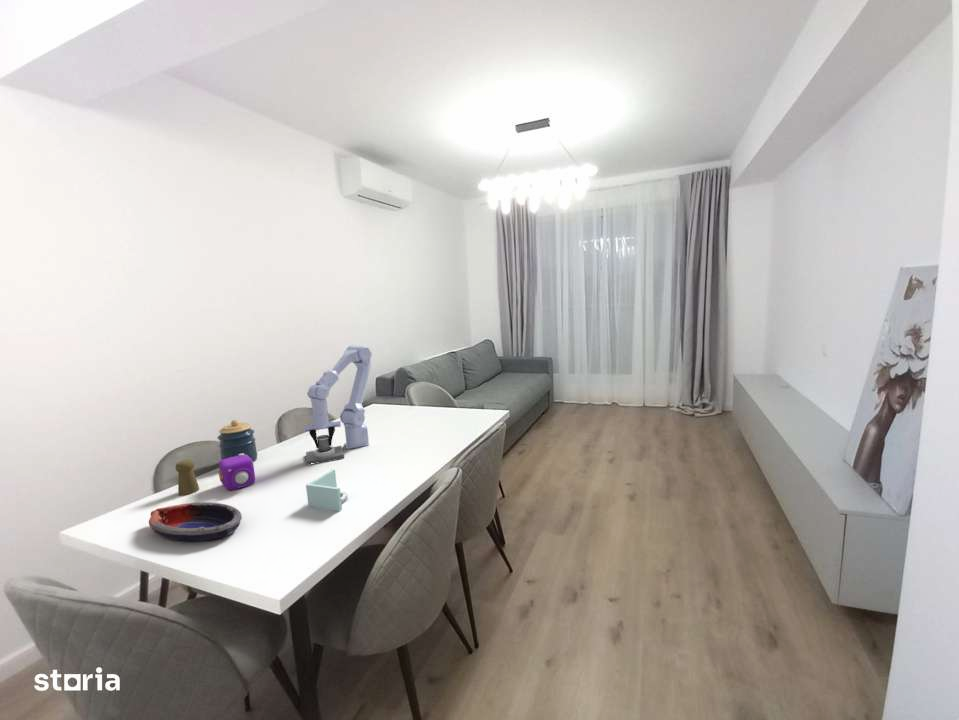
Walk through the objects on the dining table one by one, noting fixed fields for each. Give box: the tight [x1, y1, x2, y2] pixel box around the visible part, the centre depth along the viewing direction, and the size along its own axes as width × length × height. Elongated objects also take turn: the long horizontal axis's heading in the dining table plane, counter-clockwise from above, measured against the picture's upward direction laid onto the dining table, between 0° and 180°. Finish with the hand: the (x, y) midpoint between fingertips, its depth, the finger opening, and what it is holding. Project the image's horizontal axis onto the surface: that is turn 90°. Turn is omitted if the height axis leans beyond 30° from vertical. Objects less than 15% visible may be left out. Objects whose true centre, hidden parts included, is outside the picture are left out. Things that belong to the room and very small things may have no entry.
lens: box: [317, 434, 330, 452], centre depth 168 cm, size 4×4×6 cm
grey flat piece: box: [305, 445, 345, 465], centre depth 169 cm, size 14×12×3 cm
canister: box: [217, 419, 258, 463], centre depth 167 cm, size 13×13×18 cm
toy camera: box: [218, 453, 256, 491], centre depth 144 cm, size 11×14×10 cm
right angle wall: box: [305, 469, 349, 512], centre depth 130 cm, size 12×12×8 cm
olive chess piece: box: [175, 459, 200, 497], centre depth 142 cm, size 6×6×11 cm
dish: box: [148, 501, 243, 542], centre depth 117 cm, size 16×31×5 cm, turn 70°
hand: (323, 446), depth 169 cm, fingers closed on lens, 4 cm apart
